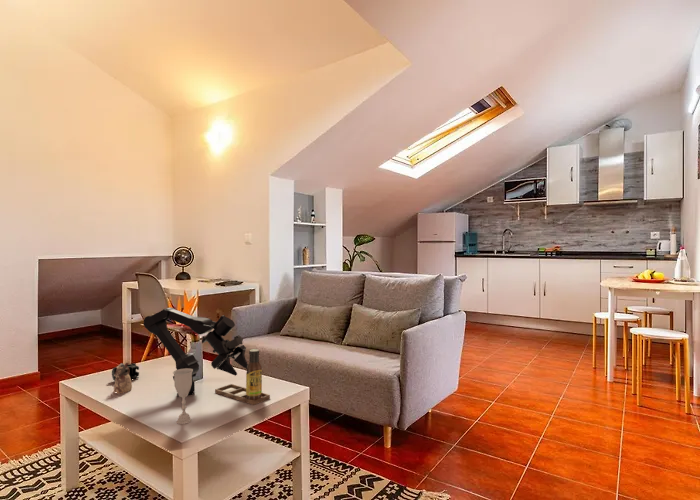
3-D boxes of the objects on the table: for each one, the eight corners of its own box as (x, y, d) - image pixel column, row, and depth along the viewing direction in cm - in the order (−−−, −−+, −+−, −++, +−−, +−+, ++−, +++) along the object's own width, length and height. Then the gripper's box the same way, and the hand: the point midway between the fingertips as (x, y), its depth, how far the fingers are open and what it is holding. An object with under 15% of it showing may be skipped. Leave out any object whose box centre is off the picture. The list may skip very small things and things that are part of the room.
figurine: (111, 390, 187) (110, 363, 186) (128, 386, 192) (127, 360, 192) (116, 394, 182) (116, 366, 182) (134, 390, 187) (133, 363, 187)
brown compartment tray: (215, 392, 182) (215, 389, 182) (231, 387, 189) (231, 383, 189) (253, 405, 167) (253, 401, 167) (269, 398, 174) (269, 394, 174)
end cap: (133, 375, 208) (132, 362, 208) (140, 378, 204) (139, 364, 204) (111, 381, 201) (111, 366, 200) (118, 383, 196) (118, 369, 196)
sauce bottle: (250, 402, 168) (249, 353, 168) (243, 398, 173) (242, 350, 173) (264, 399, 172) (263, 350, 172) (258, 394, 177) (257, 347, 177)
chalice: (177, 417, 156) (176, 368, 156) (196, 416, 157) (195, 368, 156) (170, 425, 149) (169, 374, 149) (190, 424, 149) (189, 374, 149)
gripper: (217, 335, 166) (243, 365, 164) (241, 326, 184) (265, 352, 182) (200, 353, 169) (225, 383, 166) (226, 343, 187) (249, 369, 184)
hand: (242, 371), depth 174 cm, fingers open, 9 cm apart
